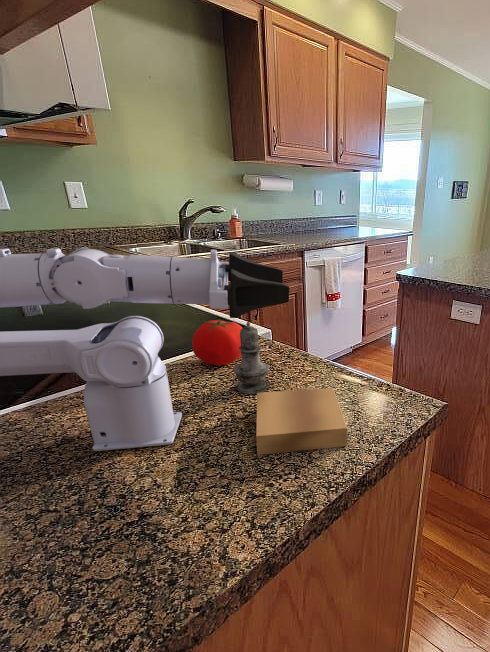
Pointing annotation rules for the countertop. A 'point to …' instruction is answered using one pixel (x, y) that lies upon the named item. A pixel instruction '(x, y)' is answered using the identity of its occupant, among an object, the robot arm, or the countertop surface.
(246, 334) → the grey chess piece
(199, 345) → the tomato
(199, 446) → the countertop surface
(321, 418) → the block
